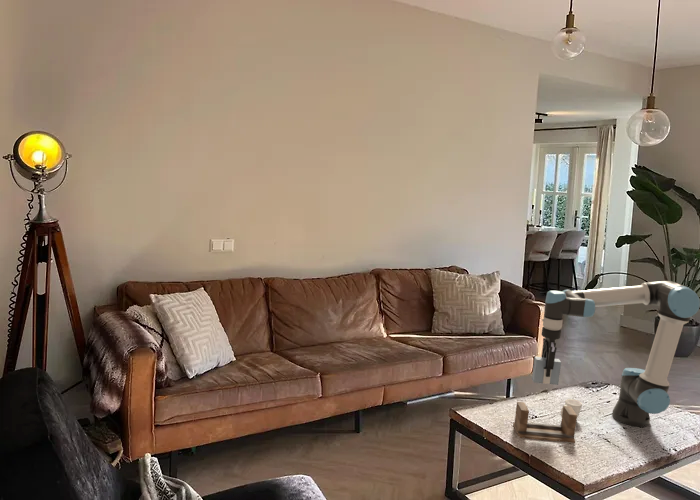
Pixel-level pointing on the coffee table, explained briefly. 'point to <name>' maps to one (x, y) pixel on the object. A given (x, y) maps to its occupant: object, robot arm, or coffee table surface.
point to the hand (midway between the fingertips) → (544, 381)
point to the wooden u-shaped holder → (545, 426)
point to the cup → (573, 406)
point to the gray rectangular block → (539, 370)
